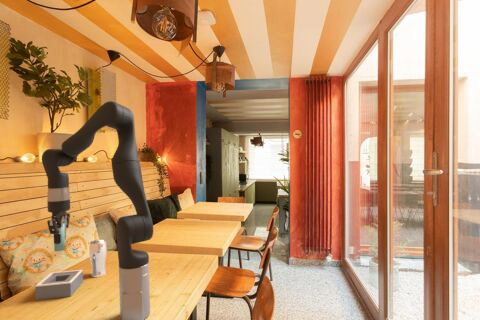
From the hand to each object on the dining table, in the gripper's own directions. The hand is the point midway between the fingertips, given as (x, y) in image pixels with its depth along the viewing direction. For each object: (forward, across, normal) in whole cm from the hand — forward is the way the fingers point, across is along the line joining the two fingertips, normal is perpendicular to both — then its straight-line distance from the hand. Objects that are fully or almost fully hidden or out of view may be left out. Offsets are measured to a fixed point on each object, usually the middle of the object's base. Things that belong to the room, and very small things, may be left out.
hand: (59, 241), depth 107 cm
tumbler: (+20, +13, -10) cm, 26 cm away
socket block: (+20, 0, 0) cm, 20 cm away
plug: (+3, 0, 0) cm, 3 cm away
